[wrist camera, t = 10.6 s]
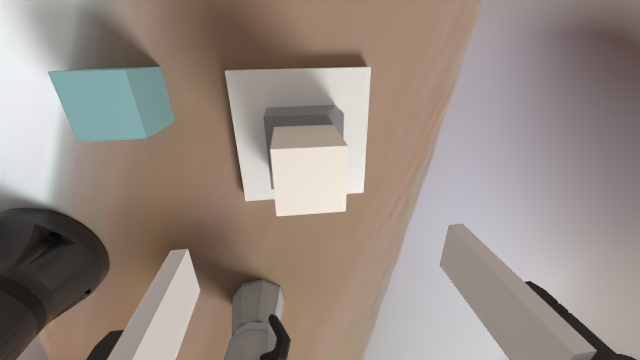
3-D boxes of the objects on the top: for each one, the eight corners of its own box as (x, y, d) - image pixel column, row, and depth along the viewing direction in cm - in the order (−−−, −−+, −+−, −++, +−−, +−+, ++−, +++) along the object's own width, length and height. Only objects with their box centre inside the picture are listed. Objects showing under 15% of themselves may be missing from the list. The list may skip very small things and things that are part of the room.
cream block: (278, 181, 29) (276, 216, 22) (274, 126, 26) (270, 149, 20) (332, 177, 29) (345, 211, 23) (333, 124, 27) (348, 145, 20)
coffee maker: (262, 328, 48) (251, 466, 32) (217, 313, 45) (179, 456, 29) (308, 274, 44) (322, 402, 28) (262, 253, 41) (246, 383, 25)
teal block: (120, 124, 30) (78, 141, 24) (101, 68, 28) (47, 71, 22) (174, 121, 31) (146, 138, 25) (160, 66, 28) (124, 69, 22)
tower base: (247, 195, 36) (239, 222, 30) (227, 70, 29) (213, 73, 23) (360, 187, 38) (374, 211, 32) (367, 66, 31) (386, 69, 25)
